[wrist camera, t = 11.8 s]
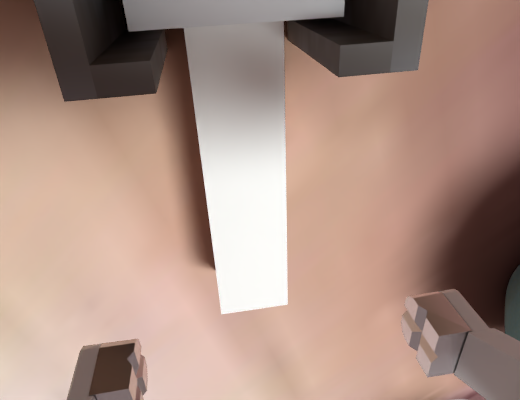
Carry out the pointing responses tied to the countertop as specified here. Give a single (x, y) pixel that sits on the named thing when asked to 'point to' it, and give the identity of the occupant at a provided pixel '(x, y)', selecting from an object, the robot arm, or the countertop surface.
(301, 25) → the brown wooden block
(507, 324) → the teal bowl
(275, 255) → the white t-shaped piece
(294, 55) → the countertop surface
